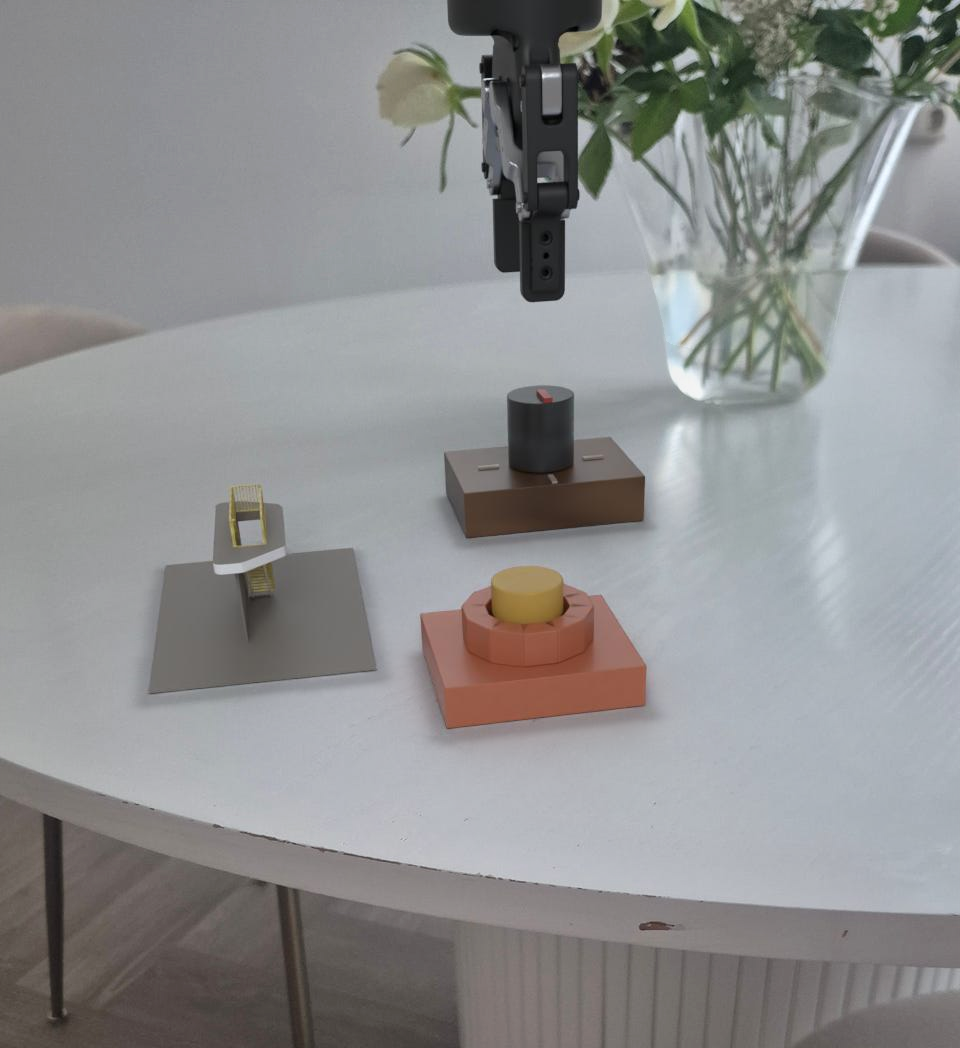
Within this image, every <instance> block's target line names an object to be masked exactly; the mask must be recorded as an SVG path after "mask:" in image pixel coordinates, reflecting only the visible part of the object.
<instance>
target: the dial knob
mask: <svg viewBox="0 0 960 1048" xmlns="http://www.w3.org/2000/svg"><path fill="white" fill-rule="evenodd" d="M506 412H507V413H506V415H507V417H506V418H507V421H506V422H507V446H508V460H509V465H510V467H512V468H513V469H516V470H519V471H523V472H531V473H547V472H555V471H559V470H563V469H566V468H568V467H570V466H571V465H572V464H573V462H574V440H575V392H574V391H573V390H572V389H570V388H567V387H564V386H559V385H558V386H557V385H549V384H547V385H544V384H543V385H542V384H540V385H528V386H523V387H519V388H515V389H513V390H510V391H509V392H508V393H507V394H506Z"/></svg>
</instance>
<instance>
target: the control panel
mask: <svg viewBox="0 0 960 1048" xmlns="http://www.w3.org/2000/svg"><path fill="white" fill-rule="evenodd" d="M443 461H444V463H443V464H444V478H445V479H444V481H445V494H446V496H447V498H448V500H449V503H450V505H451V507H452V510H453V512H454V514H455V516H456V518H457V520H458V524H459V525H460V527H461V530H462V531H463V534H464V536H465V538H467V539H469V538H478V537H489V536H498V535H508V534H519V533H530V532H538V531H548V530H549V531H550V530H559V529H560V530H561V529H569V528H570V529H571V528H579V527H590V526H600V525H610V524H621V523H630V522H639V521H644V520H645V497H646V496H645V494H646V493H645V492H646V489H645V488H646V475H645V474H644V473H643V472H642V471H641V469H639V467H637V465H636V464H635V463H634V462H633V461H632V460H631V458H630V457H629V456H628V455H627V454H626V452H624V450H623V449H622V448H621V447H620V446H619V445H618V443H617V442H616V441H615V440H614V439H613V437H611V436H604V437H602V436H601V437H593V438H581V439H574V462H573V464H572V465H571V466H570V467H568V468H566V469H563V470H559V471H555V472H547V473H531V472H523V471H519V470H516V469H513V468H512V467H510V465H509V460H508V445H505V446H504V445H503V446H494V447H493V446H492V447H483V448H471V449H460V450H449V451H444V452H443Z"/></svg>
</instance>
